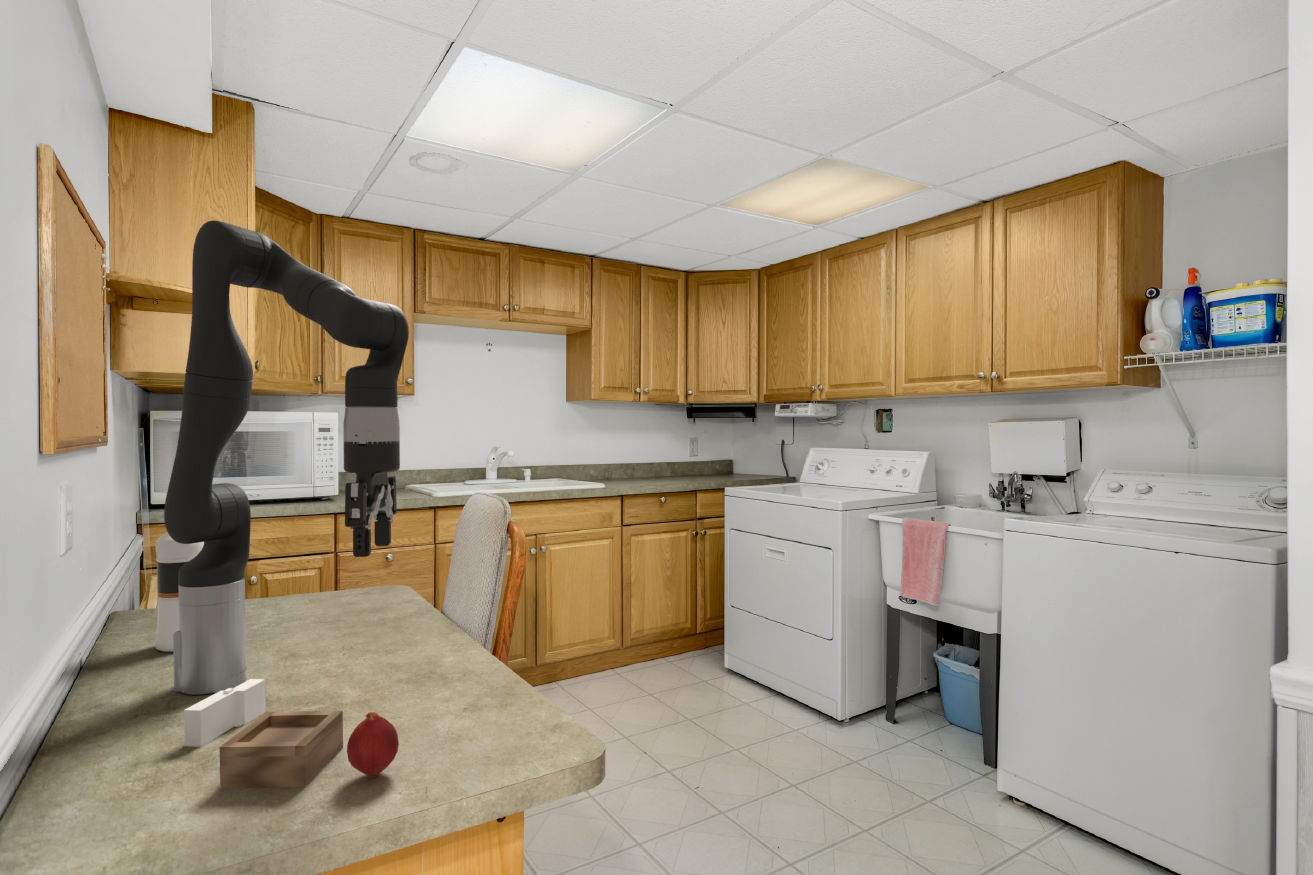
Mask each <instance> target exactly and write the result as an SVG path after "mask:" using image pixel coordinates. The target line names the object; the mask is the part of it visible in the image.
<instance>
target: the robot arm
mask: <svg viewBox="0 0 1313 875" xmlns="http://www.w3.org/2000/svg"><path fill="white" fill-rule="evenodd" d="M191 267H192V268H191V269H192V270H191V271H192V272H191V273H192V276H191V278H192V280H191V281H192V282H191V283H192V284H191V285H192V286H191V290H192V292H191V299H192V300H191V304H192V305H191V322H190V323H191V324H190V334H189V335H190V336H189V343H188V344H189V345H188V353H187V359H186V360H187V362H186V367H185V373H184V382H183V392H182V395H183V396H182V409H181V417H180V425H179V430H178V431H179V432H178V439H177V445H176V452H175V456H174V460H173V466H172V470H171V475H170V478H169V483H168V486H167V492H166V497H165V502H164V511H163V512H164V513H163V518H164V527H165V529H166V532H168V534H169V535H170V537H171V538H172V539H173V540H174V541H176V542H178V543H181V544H192V543H199V542H204V545H203V548H202V550H201V551H200V552H199V553H198V555H197V556H195V557H194V558H193V559H192V560H190V561H189V562H187V563H186V564H184V565H183V566H182V567H181V568H180V569H179V572H178V584H179V585H178V586H179V630H178V631H176V632H175V633H174V634H173V652H172V653H173V654H172V655H173V691H174V692H180V693H183V694H187V695H206V694H215V693H217V692H219V691H221V690H222V691H224V690H226V689H228V688H235V687H236V686H238V685H240V684H242V683H244V682H246V681H247V670H248V669H247V640H246V638H247V630H246V629H247V628H246V625H247V624H246V582H245V581H246V580H245V579H246V578H245V577H246V576H245V573H246V572H245V571H246V567H247V564H248V561H249V559H250V551H251V550H250V547H251V527H252V526H251V525H252V521H251V520H252V514H251V513H252V512H251V505H250V500H249V498H248V496H247V494H246V492H245V491H244V490H243V488H242V487H241V486H239V485H237V484H234V483H227V482H225V483H224V482H223V483H222V482H221V483H214V476H215V470H216V466H217V463H218V462H217V461H219V460H218V459H219V457H220V455H221V453H222V451H223V449H225V446H226V445H227V444H228V442H229V440H230V439H232V437H233V435H234V434H235V432H236V431H237V430H238V428H239V427H240V426H241V424H242V423H243V421H244V419H245V418H246V416H247V414H248V411H249V408H250V404H251V398H252V390H253V389H252V388H253V379H254V366H253V364H252V360H251V358H250V355H249V353H248V351H247V349H246V347H245V344H244V343H243V341H242V339H241V337H240V334H238V331H237V329H236V327H235V324H234V321H233V319H232V314H231V304H230V293H231V292H230V290H231V285H234V286H237V287H239V286H240V287H242V288H247V289H249V288H251V289H252V288H253V289H254V288H255V289H261V290H265V291H269V292H273V293H276V294H279V295H281V296H282V297H283V299H284V300H285V302H286V304H287V306H289V307H290V308H291V309H292V310H293V311H295V312H296V313H298V314H300V315H302V316H303V317H305V318H307V319H308V320H310V321H312V322H314V323H315V324H317V325H319V326H321V328H323V330H324V331H325V332H326V333H327V334H328V335H329V336H330V337H331V338H333V340H335V341H336V342H339V343H341V344H343V345H345V346H348V347H352V348H355V349H363V350H369V353H368V357H367V359H366V362H365V364H361V365H356V366H353V367H349V369H347V371H346V373H345V377H344V416H343V427H342V428H343V432H342V434H343V470H344V472H346V473H349V474H353V473H354V474H356V477H355V482H345V487H344V489H345V490H344V492H345V494H344V527H345V528H350V530H352V554H353V557H355V558H367V557H370V555H371V554H372V530H371V529H372V524H373V523H372V522H373V519H374V545H375V546H376V547H388V546H390V545H391V544H392V521H393V519H394V515H397V512H398V509H397V507H398V506H397V505H398V504H397V478H396V476H395V475H388V473H395V472H398V471H399V470H400V468H401V461H400V460H401V458H400V457H401V456H400V455H401V452H400V451H401V450H400V449H401V446H400V445H401V444H400V442H401V441H400V439H401V438H400V436H401V434H400V433H401V432H400V425H401V424H400V417H399V410H398V409H399V408H398V379H399V375H400V371H401V369H402V365H403V361H404V357H405V353H406V350H407V346H408V342H409V337H410V335H409V334H410V328H409V323H408V320H407V317H406V315H405V313H404V312H403V310H402V309H401V308H400V307H398V306H396V305H394V304H391V303H387V302H383V301H377V300H372V299H367V298H363V297H360V296H357V295H356V293H355V292H354V291H353V290H352V289H351V288H350V287H349V286H347V285H346V284H344V283H342V282H340V281H339V280H336V279H334V278H332V277H330V276H328V275H326V274H324V273H322V272H320V271H318V270H316V269H313V268H311V267H309V266H307V265H306V264H304V263H302V262H300V261H299V260H297V259H296V258H295V257H293V256H292V255H291V254H290V253H288V252H287V251H285V249H284V248H283V247H282V246H280V245H279V244H278V243H277V242H275V241H274V240H273V239H271V238H270V237H268V236H267V235H265V234H262V233H261V232H257V231H254V230H253V229H248V228H245V227H241V226H238V225H234V224H232V223H228V222H224V221H221V220H208V221H206V222H205V223H204V224H202V225H201V227H199V230H198V232H197V234H196V237H195V240H194V243H193V249H192V266H191Z"/></svg>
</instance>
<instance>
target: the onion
mask: <svg viewBox="0 0 1313 875" xmlns="http://www.w3.org/2000/svg"><path fill="white" fill-rule="evenodd" d="M365 717H366V718H365V719H364V720H362V721H361V722H359V723H358V725H356V727H355V728H354V730H353V731H352V732H351V734H350V736H349V738H348V741H347V746H346V754H347V759H348V762H349V763H350V766H351V767H352V768H354V769H356V770H357V771H358V772H360V773H362V774H364V775H366V777H368V778H376V777H378V776H379V775H380V774H381V773H382V772H383V771H384V770H385V769H386V768H388V767H389V766H390V764H392V762H393V761H394V759H395V758H396V756H397V754H398V751H399V745H400V744H399V736H398V735H399V734H398V732H397V729H396V728H395V726H394V725H393V724H392V723H391V722H390V721H388V720H387V719H386V718H385V717H383V716H380V715H379V714H378V713H377V712H376V711H373V710H371V711H370V710H369V712H368V713H367V714H366V715H365Z"/></svg>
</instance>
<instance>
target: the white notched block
mask: <svg viewBox="0 0 1313 875" xmlns="http://www.w3.org/2000/svg"><path fill="white" fill-rule="evenodd" d="M266 699H267V698H266V679H264V678H259V679H258V678H250V679H247V680H245V682H243V683H242V684H240V685H238V686H236V687H233V688H228V689H226V690H223V691H222V690H221V691H219V692H214V693H213V694H212V695H209V696H208V697H206V698H204V699H202V700H200V701H199V702H197V703H194V704H193V705H191V706H189V707H187V708H185V709H183V726H184V727H183V730H184V747H195V748H196V747H197V748H200V747H204V746H205V745H207V744H209V743H210V742H211V741H213V740H214V739H216V738H218V737H219V736H221V735H222V734H224V733H226V732H227V731H229V730H231V729H232V728H236V727H237V728H238V727H241V726H245V725H247V724H249V723H250V722H252V721H254V720H256V719H258V718H259V717H260V716H262V715H263V714H264V713H266V712H267V710H266V709H267V705H266V702H267V701H266Z"/></svg>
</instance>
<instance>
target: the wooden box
mask: <svg viewBox="0 0 1313 875" xmlns="http://www.w3.org/2000/svg"><path fill="white" fill-rule="evenodd" d="M343 716H344V715H343V710H310V711H309V710H307V711H306V710H305V711H302V710H300V711H266V712H265V713H263V714H261V715H260V716H258V717H257V718H255V719H254V720H253V722H252V721H251V723H250V724H249V725H247V726H246V727H245V728H243V729H241V730H240V731H239V732H237V733H236V734H235V735H234V736H232V737H231V738H230V739H229V740H227V741H226V742H225V743H223V744H222V745H221V746H219V784H220V785H219V787H220V790H221V789H222V790H223V789H227V790H228V789H268V788H269V789H270V788H271V789H273V788H274V789H275V788H307V787H308V786H309V785H310V784H311V783H312V781H313V780H314V779H315V778H316V777H317V776H318V775H319V774H320V773H321V772H322V771H323V770H324V769H325V768H326V767H327V766H328V765H329V763H330V762H332V761H333V759H334V758H335V757H336V756H337V755H338V754H339V753H340V751H342V750H343V748H344V717H343Z"/></svg>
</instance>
